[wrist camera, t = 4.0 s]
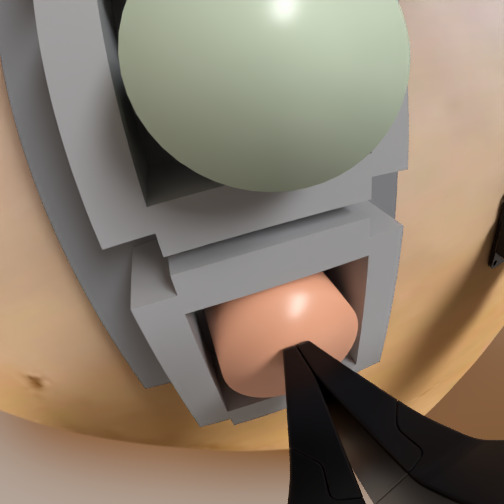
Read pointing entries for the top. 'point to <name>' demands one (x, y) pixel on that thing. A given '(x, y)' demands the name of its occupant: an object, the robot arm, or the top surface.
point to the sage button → (265, 84)
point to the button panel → (182, 212)
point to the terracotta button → (278, 331)
